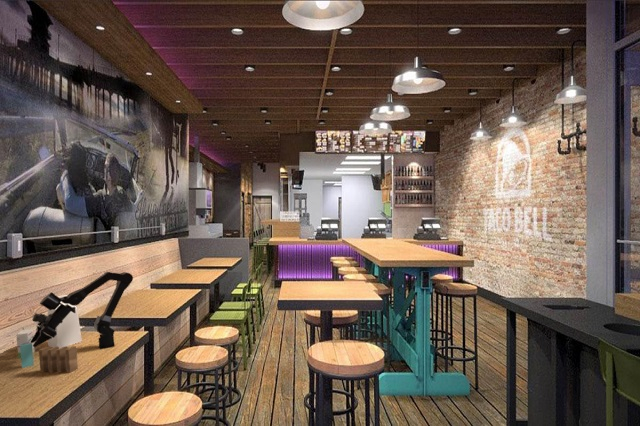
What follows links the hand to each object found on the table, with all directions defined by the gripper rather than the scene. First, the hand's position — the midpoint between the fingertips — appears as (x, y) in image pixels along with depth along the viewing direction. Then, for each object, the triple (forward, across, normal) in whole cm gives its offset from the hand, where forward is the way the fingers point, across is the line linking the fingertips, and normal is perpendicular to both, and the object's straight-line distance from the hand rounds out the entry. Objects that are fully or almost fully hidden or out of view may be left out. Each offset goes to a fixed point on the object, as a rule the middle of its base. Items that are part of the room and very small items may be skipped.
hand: (32, 344), depth 193 cm
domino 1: (+8, 0, +5) cm, 10 cm away
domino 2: (+4, +15, +9) cm, 18 cm away
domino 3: (+2, +19, +11) cm, 22 cm away
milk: (-5, -26, +18) cm, 32 cm away
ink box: (+8, -21, +6) cm, 23 cm away
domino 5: (-2, +25, +15) cm, 29 cm away
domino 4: (0, +22, +13) cm, 25 cm away
